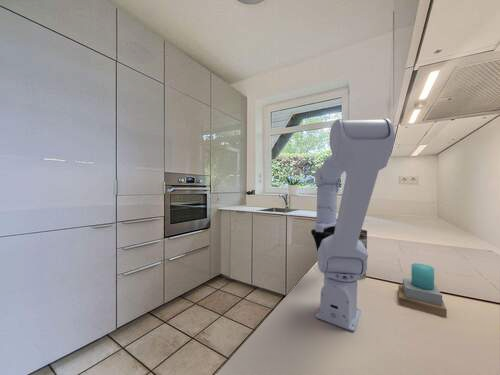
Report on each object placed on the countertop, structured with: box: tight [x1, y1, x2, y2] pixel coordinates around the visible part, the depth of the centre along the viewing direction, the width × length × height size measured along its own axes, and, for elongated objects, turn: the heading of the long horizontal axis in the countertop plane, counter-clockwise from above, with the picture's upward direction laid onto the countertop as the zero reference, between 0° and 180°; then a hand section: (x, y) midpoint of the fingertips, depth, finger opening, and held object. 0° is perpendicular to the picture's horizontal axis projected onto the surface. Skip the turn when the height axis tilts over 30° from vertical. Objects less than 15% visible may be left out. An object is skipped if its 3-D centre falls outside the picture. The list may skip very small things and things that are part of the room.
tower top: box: [402, 277, 443, 306], centre depth 55 cm, size 7×7×2 cm
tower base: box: [397, 284, 448, 318], centre depth 55 cm, size 9×9×2 cm
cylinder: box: [411, 263, 435, 290], centre depth 55 cm, size 5×5×5 cm
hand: (325, 251), depth 64 cm, fingers open, 7 cm apart
